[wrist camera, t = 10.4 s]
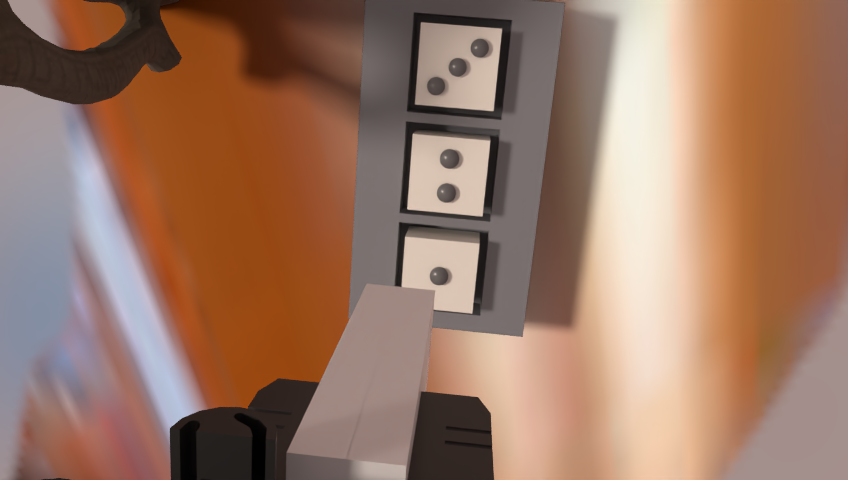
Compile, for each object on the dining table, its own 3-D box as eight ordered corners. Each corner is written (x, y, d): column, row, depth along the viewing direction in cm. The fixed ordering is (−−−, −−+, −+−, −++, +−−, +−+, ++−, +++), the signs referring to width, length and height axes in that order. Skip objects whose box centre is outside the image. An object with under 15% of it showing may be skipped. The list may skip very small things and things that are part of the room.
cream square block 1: (404, 291, 40) (399, 307, 37) (409, 225, 39) (404, 237, 36) (472, 298, 40) (472, 314, 37) (479, 232, 38) (479, 244, 36)
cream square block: (411, 200, 38) (406, 210, 36) (416, 129, 37) (412, 134, 35) (482, 206, 38) (482, 217, 36) (489, 135, 37) (490, 141, 35)
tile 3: (419, 101, 37) (414, 104, 34) (424, 24, 36) (420, 22, 33) (492, 107, 37) (493, 111, 34) (500, 30, 36) (502, 28, 33)
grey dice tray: (357, 300, 42) (348, 318, 39) (374, -7, 37) (365, -13, 34) (519, 317, 41) (522, 336, 39) (558, 7, 37) (564, 2, 34)
